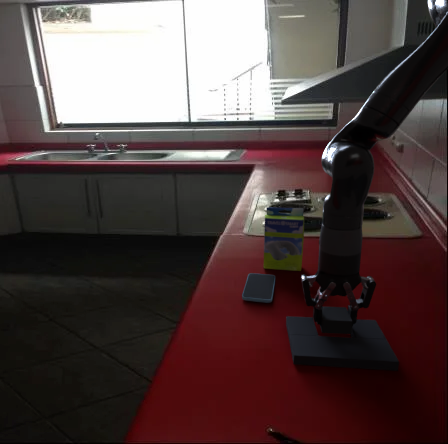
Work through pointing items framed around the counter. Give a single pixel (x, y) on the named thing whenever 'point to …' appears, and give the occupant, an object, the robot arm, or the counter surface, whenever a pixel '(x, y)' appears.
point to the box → (283, 239)
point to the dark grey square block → (336, 320)
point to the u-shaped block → (340, 346)
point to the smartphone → (259, 288)
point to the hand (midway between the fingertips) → (334, 323)
